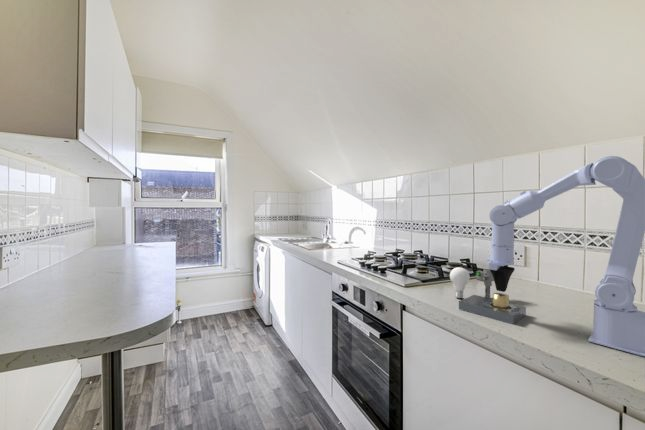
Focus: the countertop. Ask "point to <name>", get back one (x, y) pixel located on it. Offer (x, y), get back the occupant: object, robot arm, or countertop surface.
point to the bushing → (500, 300)
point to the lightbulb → (459, 280)
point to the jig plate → (492, 309)
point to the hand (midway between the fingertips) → (501, 290)
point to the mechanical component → (485, 280)
